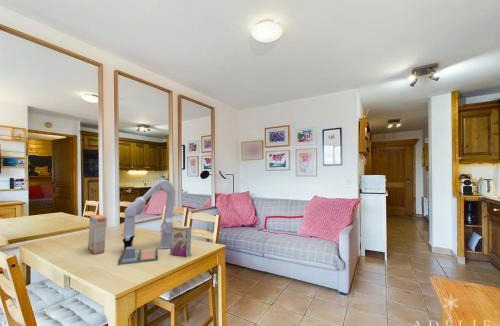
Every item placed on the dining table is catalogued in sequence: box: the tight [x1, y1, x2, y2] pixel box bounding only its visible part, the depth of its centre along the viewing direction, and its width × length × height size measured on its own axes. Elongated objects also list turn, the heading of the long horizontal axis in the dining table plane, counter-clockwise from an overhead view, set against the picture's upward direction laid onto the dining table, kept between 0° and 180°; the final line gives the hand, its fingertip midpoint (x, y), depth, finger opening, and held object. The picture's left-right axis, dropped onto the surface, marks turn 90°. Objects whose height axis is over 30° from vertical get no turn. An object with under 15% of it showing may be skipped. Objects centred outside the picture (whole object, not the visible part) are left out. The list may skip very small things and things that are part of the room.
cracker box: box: [87, 214, 108, 255], centre depth 136 cm, size 14×6×21 cm, turn 47°
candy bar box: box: [170, 224, 192, 258], centre depth 132 cm, size 11×5×16 cm, turn 71°
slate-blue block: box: [124, 245, 136, 259], centre depth 124 cm, size 4×4×5 cm
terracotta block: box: [123, 241, 134, 254], centre depth 135 cm, size 4×4×5 cm
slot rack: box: [117, 247, 159, 266], centre depth 125 cm, size 19×14×2 cm
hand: (128, 249), depth 135 cm, fingers closed on terracotta block, 4 cm apart
